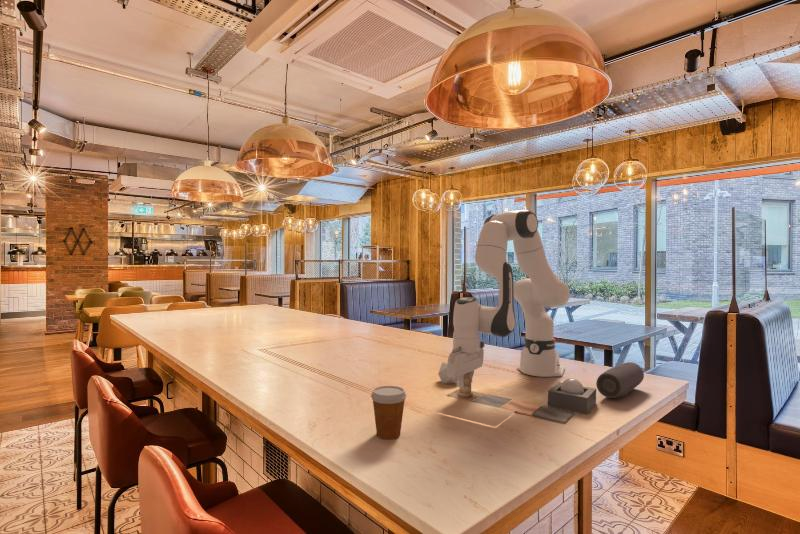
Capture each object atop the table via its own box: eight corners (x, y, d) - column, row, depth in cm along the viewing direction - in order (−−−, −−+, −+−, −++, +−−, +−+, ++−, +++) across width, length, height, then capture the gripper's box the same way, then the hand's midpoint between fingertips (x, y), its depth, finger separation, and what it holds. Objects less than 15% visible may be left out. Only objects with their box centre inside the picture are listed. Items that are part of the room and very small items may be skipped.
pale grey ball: (563, 394, 148) (564, 374, 148) (586, 398, 144) (586, 378, 143) (557, 400, 142) (557, 379, 142) (580, 404, 138) (581, 383, 138)
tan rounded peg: (462, 391, 155) (462, 368, 155) (475, 394, 152) (475, 371, 152) (454, 394, 151) (455, 371, 151) (468, 397, 148) (468, 374, 147)
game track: (459, 389, 158) (459, 388, 158) (574, 413, 135) (574, 412, 135) (445, 396, 150) (445, 395, 150) (565, 423, 127) (565, 421, 127)
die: (454, 389, 160) (467, 367, 163) (434, 377, 162) (447, 354, 165) (451, 391, 168) (463, 369, 171) (432, 379, 170) (444, 357, 172)
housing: (558, 396, 151) (558, 382, 151) (596, 403, 144) (596, 388, 144) (547, 406, 142) (547, 390, 142) (587, 414, 135) (587, 398, 134)
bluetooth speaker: (618, 384, 166) (618, 358, 166) (645, 390, 159) (645, 363, 159) (593, 398, 150) (594, 369, 150) (622, 405, 144) (623, 374, 143)
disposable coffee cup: (370, 428, 122) (370, 385, 122) (404, 427, 123) (404, 384, 123) (371, 442, 113) (371, 396, 113) (407, 441, 114) (408, 395, 113)
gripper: (459, 351, 141) (459, 394, 141) (486, 341, 157) (486, 380, 157) (442, 348, 144) (442, 390, 145) (471, 339, 161) (470, 377, 161)
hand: (465, 385), depth 151 cm, fingers closed on tan rounded peg, 4 cm apart
